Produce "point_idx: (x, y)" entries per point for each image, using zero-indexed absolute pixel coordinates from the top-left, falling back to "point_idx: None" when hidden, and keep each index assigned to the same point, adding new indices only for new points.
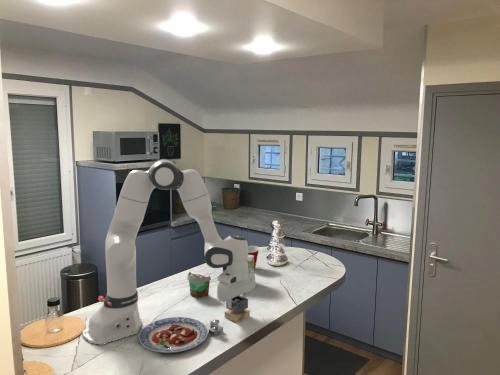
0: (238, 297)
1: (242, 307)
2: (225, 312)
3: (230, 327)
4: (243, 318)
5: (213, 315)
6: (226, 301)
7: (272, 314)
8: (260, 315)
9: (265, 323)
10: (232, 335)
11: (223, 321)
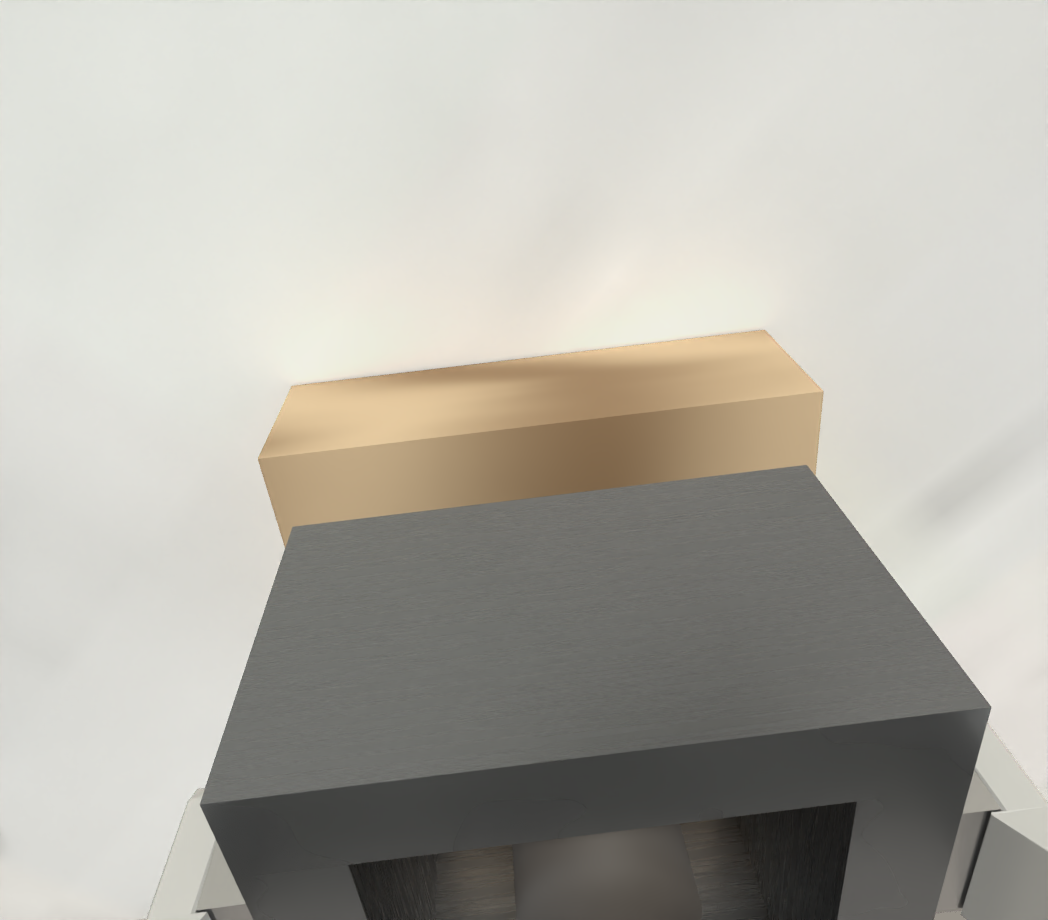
0: (827, 818)
1: None
2: (267, 487)
3: (175, 731)
4: None
5: (71, 85)
6: (234, 723)
7: (1044, 789)
8: None
9: None
10: (78, 888)
11: (168, 506)
